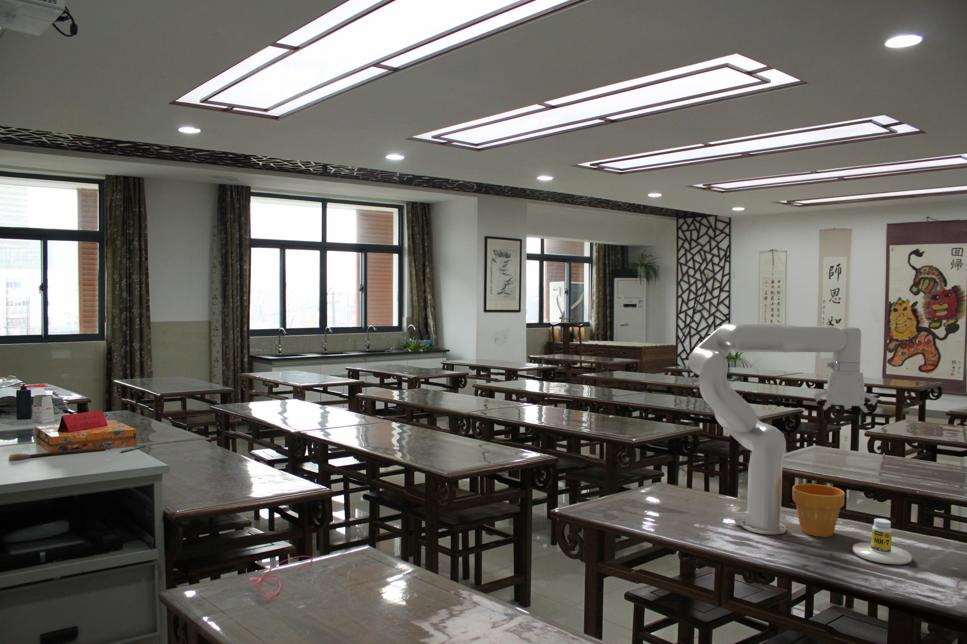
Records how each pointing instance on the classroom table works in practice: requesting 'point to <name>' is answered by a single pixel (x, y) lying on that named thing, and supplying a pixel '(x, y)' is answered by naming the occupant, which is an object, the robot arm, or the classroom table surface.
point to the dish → (892, 558)
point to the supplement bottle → (881, 536)
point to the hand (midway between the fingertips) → (844, 423)
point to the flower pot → (818, 508)
